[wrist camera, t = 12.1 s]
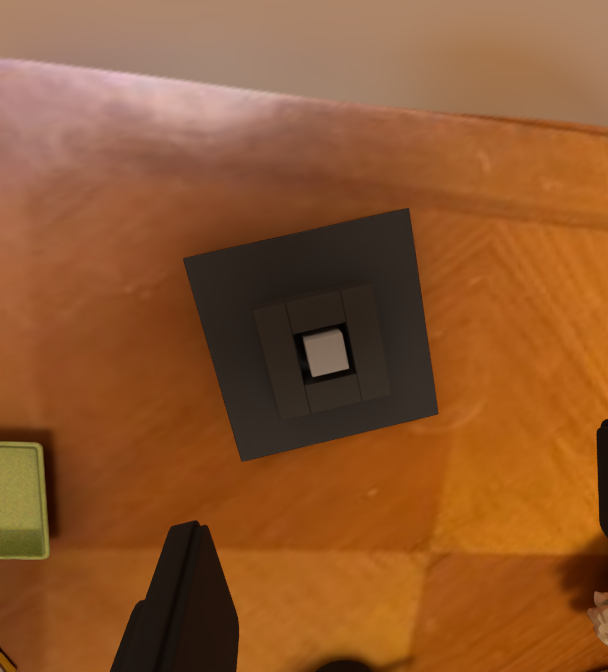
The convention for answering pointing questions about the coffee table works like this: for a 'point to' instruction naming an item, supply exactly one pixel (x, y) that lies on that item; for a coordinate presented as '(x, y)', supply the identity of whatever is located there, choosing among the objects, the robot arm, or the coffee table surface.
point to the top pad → (313, 313)
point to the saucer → (23, 502)
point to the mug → (344, 667)
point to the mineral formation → (600, 616)
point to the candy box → (6, 664)
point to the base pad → (301, 275)
